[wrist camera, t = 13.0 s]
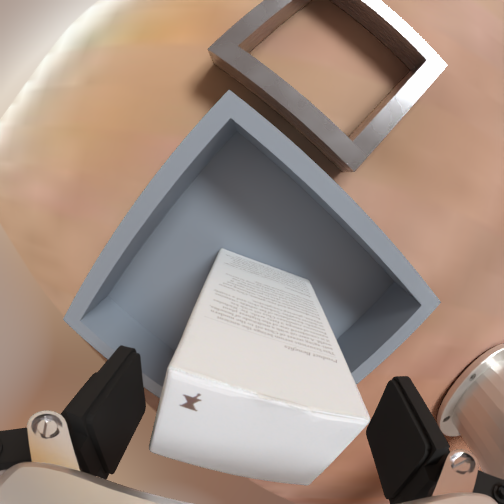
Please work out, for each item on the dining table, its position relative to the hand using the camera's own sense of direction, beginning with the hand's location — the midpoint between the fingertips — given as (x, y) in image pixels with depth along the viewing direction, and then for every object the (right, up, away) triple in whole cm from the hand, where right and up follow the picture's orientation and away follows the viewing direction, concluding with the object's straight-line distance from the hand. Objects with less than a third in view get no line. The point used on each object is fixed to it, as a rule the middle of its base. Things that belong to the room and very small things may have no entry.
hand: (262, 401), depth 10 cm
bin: (-1, +3, +10) cm, 10 cm away
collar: (+5, +18, +6) cm, 19 cm away
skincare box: (0, +3, +9) cm, 10 cm away
